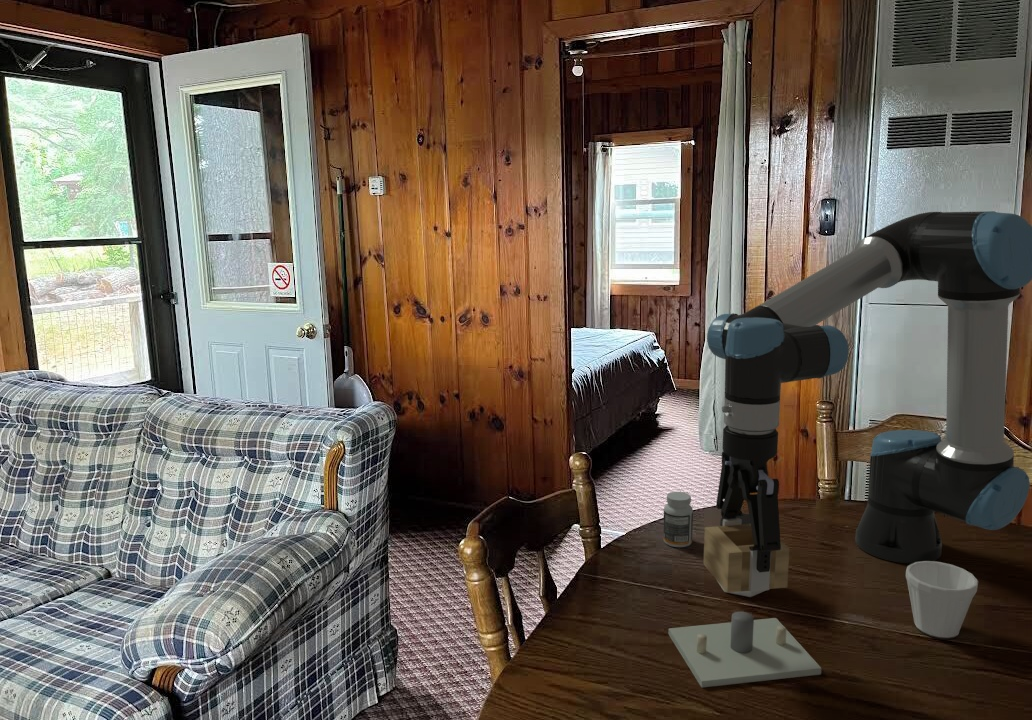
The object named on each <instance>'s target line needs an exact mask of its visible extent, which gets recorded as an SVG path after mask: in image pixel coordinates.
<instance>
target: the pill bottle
mask: <svg viewBox="0 0 1032 720" xmlns="http://www.w3.org/2000/svg"><path fill="white" fill-rule="evenodd" d="M691 496H692V495H690V494H689V493H687V492H684V491H671V492H669V493H667V494H666V502H667V503H666V504H665V506H664V508H663V519H662V520H663V525H662V526H663V531H662V532H663V534H662V538H663V542H664V543H665V544H666V545H667V546H670V547H675V548H685V547H689V546H690V545H691V544H692V543H693V534H694V533H693V527H694V526H693V525H694V509H693V506H691V505H690V504H691V502H692V498H691Z"/></svg>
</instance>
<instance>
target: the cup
mask: <svg viewBox="0 0 1032 720" xmlns="http://www.w3.org/2000/svg"><path fill="white" fill-rule="evenodd" d="M905 579H906V584H907V589H908V592H909V599H910V604H911V611H912V612H911V613H912V616H913V623H914V625H915V627H916V629H917V630H918V631H920V632H921V633H922V634H924V635H926V636H929V637H932V638H936V639H942V640H949V639H955V638H956V637H958V635H959V633H960V630H961V628H962V626H963V623H964V621H965V619H966V615H967V614H968V611H969V608H970V605H971V603H972V600H973V598H974V597H975V596H976V593H977V591H978V588H979V587H978V585H979V580H978V579H977V578H976V577H975V576H974V574H973V573H971V571H967V570H966V569H965V568H962V567H959V566H957V565H954V564H952V563H951V564H950V563H946V562H941V561H921V562H915V563H913V564H909V565H907V566H906V570H905Z"/></svg>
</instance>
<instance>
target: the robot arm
mask: <svg viewBox="0 0 1032 720" xmlns="http://www.w3.org/2000/svg"><path fill="white" fill-rule="evenodd" d="M914 280H915V281H916V280H919V281H929V282H937V298H938V299H940V300H941V301H942V302H943V303H945V305H946V306H947V351H946V352H947V357H946V360H947V362H946V363H947V364H946V426H945V427H946V429H945V430H946V435H945V436H946V437H945V438H944V439H942V437H941V435H940V434H938V433H936V432H934V431H929V430H919V429H917V430H916V429H899V430H898V429H897V430H896V429H895V430H887V431H884V432H881V433H879V434H877V435H875V437H874V438H873V440H872V445H871V446H872V447H871V452H870V453H869V456H870V461H869V475H868V476H869V477H868V479H869V480H868V494H867V505H866V507H865V510H864V512H863V513H862V516H861V518H860V520H859V523H858V525H857V527H856V530H855V539H854V542H855V544H856V545H857V547H858V548H859V549H860V550H861V551H863V552H865V553H867V554H869V555H871V556H873V557H875V558H879V559H882V560H885V561H889V562H893V563H901V564H909V565H911V564H913V563H915V562H921V561H934V562H936V560H938V559H940V557H941V556H942V547H943V542H942V538H941V533H940V531H939V526H938V523H937V519H936V515H935V512H937V513H939V514H942V515H946V516H947V517H951V518H953V519H955V520H958V521H961V522H964V523H966V524H967V525H969V526H972V527H973V526H976V527H979V528H981V529H985V530H988V531H997V530H1000V529H1002V528H1005V527H1006V526H1008V525H1009V524H1010V523H1012V522H1013V520H1014V519H1015V518H1016V517H1018V514H1019V513H1020V512H1021V510H1022V508H1023V507H1024V506H1025V503H1026V501H1027V498H1028V495H1029V491H1030V476H1029V475H1028V474H1027V472H1026V471H1025V470H1023V469H1022V468H1020V467H1019V466H1014V462H1015V460H1014V459H1015V458H1014V457H1015V454H1014V453H1015V452H1014V449H1013V448H1012V447H1011V446H1010V445H1009V444H1008V443H1006V442H1005V417H1006V416H1005V415H1006V414H1005V413H1006V387H1007V386H1006V385H1007V383H1006V382H1007V355H1008V331H1009V330H1008V327H1009V325H1008V324H1009V305H1010V304H1011V303H1012V302H1014V301H1015V300H1016V299H1017V298H1019V297H1020V294H1021V288H1024V287H1025V286H1026V285H1028V284H1030V282H1031V281H1032V224H1030V223H1029V222H1028V220H1027V219H1025V217H1023V216H1021V215H1019V214H1016V213H1009V212H1008V213H1007V212H999V211H998V212H996V211H993V210H991V211H990V210H989V211H943V212H942V211H928V212H921V213H918V214H914V215H911V216H908V217H905V218H902V219H900V220H898V221H895V222H893V223H891V224H888V225H886V226H884V227H881V228H880V229H878V230H876V231H874V232H872V233H871V234H869V235H867V236H866V237H863V238H861V239H860V240H859V241H857V243H856V244H855V247H854V249H853V250H852V251H851V252H849V253H848V254H846V255H844V256H842V257H840V258H839V259H837V260H835V261H833V262H832V263H830V264H829V265H827V266H825V267H823V268H822V269H820V270H818V271H816V272H814V273H813V274H811V275H809V276H807V277H806V278H804V279H802V280H801V281H798V282H797V283H795V284H793V285H792V286H790V287H788V288H786V289H785V290H783V291H781V292H780V293H778V294H776V295H774V296H773V297H770V298H769V299H767V300H766V301H764V302H762V303H760V304H759V305H757V306H755V307H753V308H752V309H749V310H747V311H746V312H743V313H742V314H738V313H734V312H733V313H724V314H720V315H718V316H717V317H715V318H714V319H713V320H712V321H711V323H710V325H709V327H708V329H707V334H706V341H707V347H708V348H709V351H710V352H711V353H712V354H713V355H714V356H715V357H716V358H720V359H723V360H724V361H725V364H724V365H725V367H724V368H725V369H724V405H722V407H721V412H722V413H723V423H724V425H726V426H725V427H723V430H722V452H721V471H720V475H719V482H718V483H719V484H718V489H717V496H716V497H717V498H716V509H717V510H720V516H721V518H724V519H723V526H729V525H741V524H742V520H741V519H740V518H736V517H738V516H743V515H741V514H743V511H742V507H743V504H744V501H745V502H747V508H748V509H747V510H748V514H749V517H750V523H751V529H752V536H753V542H754V546H750V547H749V548H750V571H749V590H750V591H751V592H754V591H764V592H765V590H766V591H770V589H769V581H770V561H771V551H776V550H780V549H781V543H780V540H781V528H780V511H779V488H780V481H779V479H778V478H771V477H770V476H769V469H768V462H769V461H770V460H771V459H773V458H775V457H776V456H777V454H778V445H779V432H778V430H777V428H779V426H780V410H781V409H780V408H781V390H782V388H781V387H782V384H783V383H784V384H785V383H791V382H797V381H798V382H799V381H804V380H812V379H819V380H820V379H821V378H822V379H823V378H824V377H829V376H832V375H835V374H838V373H839V372H840V371H842V370H843V369H844V368H845V366H846V364H847V363H848V360H849V356H850V355H849V354H850V353H849V350H850V348H849V343H848V339H847V338H846V336H845V334H844V333H843V332H842V331H841V330H840V329H838V328H837V327H835V326H833V325H829V324H828V325H820V323H822V322H823V321H825V320H826V319H828V318H830V317H831V316H833V315H836V314H837V313H838V312H840V311H841V310H843V309H845V308H847V307H848V306H850V305H852V304H853V303H855V302H856V301H858V300H860V299H862V298H863V297H865V296H867V295H868V294H870V293H872V292H874V291H875V290H877V289H887V288H892V287H894V286H895V285H897V284H898V283H900V282H906V281H914Z"/></svg>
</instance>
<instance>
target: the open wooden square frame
mask: <svg viewBox="0 0 1032 720" xmlns="http://www.w3.org/2000/svg"><path fill="white" fill-rule="evenodd" d="M703 541H704V542H703V544H704V545H703V565H704V567H705V568H706V569H707V570H708V572H710V573H711V575H712V576H713V577H714V578H715V579H716V582H717V583H718V582H719V583H720V584H721V586H722V587H723V588H724V589H725V590H726V592H725V593H727V594H730V593H729V592H740V591H750V590H749V571H750V548H749V547H750V546H754V542H753V536H752V529H751V524H741V525H729V526H720V525H718V526H717V525H715V526H705V527H704V540H703ZM780 543H781V549H780V550H776V551H771V561H770V581H769V590H770V589H771V590H772V589H783V588H784V589H785V588H788V582H789V581H788V580H789V579H788V578H789V565H790V564H789V563H790V547H788V545H786V543H784V541H782V540H781V539H780ZM719 583H718V584H719ZM720 584H719V585H720ZM721 586H720V587H721Z"/></svg>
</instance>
